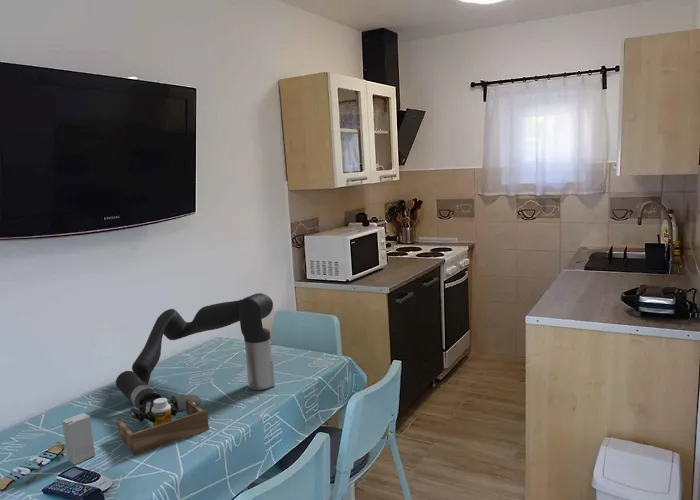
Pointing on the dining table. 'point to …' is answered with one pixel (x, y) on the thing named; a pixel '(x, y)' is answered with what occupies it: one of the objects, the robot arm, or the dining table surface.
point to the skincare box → (78, 438)
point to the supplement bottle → (161, 411)
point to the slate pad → (182, 401)
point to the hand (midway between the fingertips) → (164, 416)
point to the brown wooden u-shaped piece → (165, 430)
